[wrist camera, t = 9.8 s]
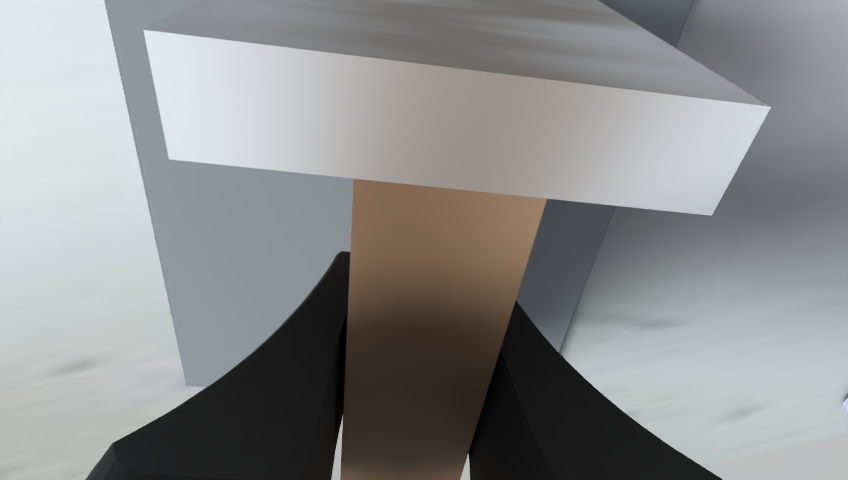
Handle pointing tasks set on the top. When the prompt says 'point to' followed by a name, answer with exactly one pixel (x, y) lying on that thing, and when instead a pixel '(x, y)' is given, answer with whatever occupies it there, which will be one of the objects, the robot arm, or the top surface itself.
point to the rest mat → (301, 220)
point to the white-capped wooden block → (444, 167)
